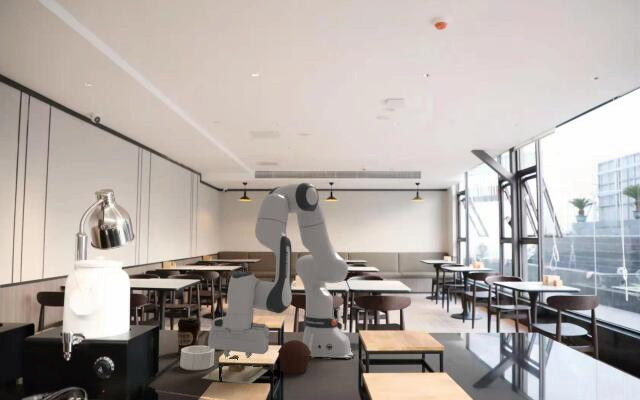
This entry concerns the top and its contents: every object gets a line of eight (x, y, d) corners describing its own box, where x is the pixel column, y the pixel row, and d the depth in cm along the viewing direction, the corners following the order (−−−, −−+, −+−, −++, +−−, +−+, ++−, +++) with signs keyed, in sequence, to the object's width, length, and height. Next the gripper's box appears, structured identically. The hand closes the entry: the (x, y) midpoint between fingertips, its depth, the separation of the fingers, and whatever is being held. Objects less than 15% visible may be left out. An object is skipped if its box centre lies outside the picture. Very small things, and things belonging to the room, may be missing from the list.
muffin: (301, 379, 138) (303, 347, 139) (271, 374, 141) (272, 343, 143) (314, 369, 149) (316, 340, 150) (286, 365, 153) (287, 336, 154)
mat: (268, 371, 144) (268, 369, 144) (249, 386, 129) (249, 384, 129) (225, 366, 148) (225, 364, 148) (201, 379, 133) (201, 378, 133)
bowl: (219, 365, 149) (220, 347, 150) (203, 374, 139) (204, 355, 139) (190, 361, 152) (192, 344, 152) (173, 370, 141) (174, 351, 142)
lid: (262, 370, 143) (263, 354, 144) (246, 382, 131) (247, 364, 131) (227, 366, 146) (228, 350, 147) (208, 377, 134) (209, 360, 134)
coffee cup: (191, 356, 158) (193, 320, 159) (170, 354, 159) (173, 319, 161) (202, 351, 166) (204, 317, 168) (182, 349, 168) (185, 315, 169)
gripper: (272, 322, 141) (270, 366, 139) (216, 317, 146) (213, 359, 144) (265, 326, 135) (263, 371, 133) (207, 320, 140) (204, 364, 138)
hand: (237, 365), depth 139 cm, fingers closed on lid, 4 cm apart
